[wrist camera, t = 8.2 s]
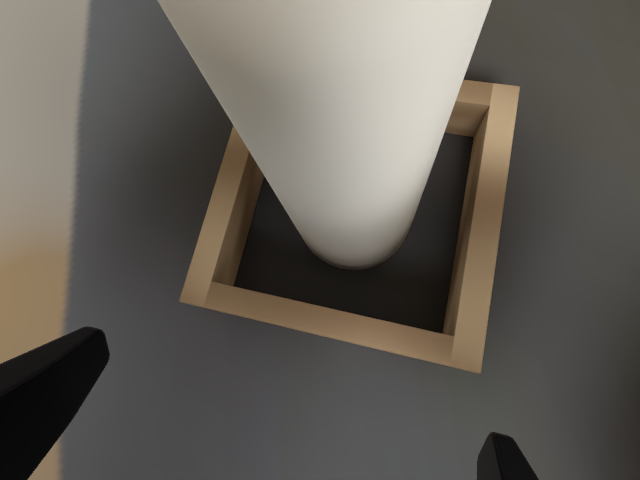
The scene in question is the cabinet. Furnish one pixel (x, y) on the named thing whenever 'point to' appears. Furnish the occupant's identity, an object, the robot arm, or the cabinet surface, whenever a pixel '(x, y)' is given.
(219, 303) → the oak holder
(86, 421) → the cabinet surface
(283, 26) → the paper roll
